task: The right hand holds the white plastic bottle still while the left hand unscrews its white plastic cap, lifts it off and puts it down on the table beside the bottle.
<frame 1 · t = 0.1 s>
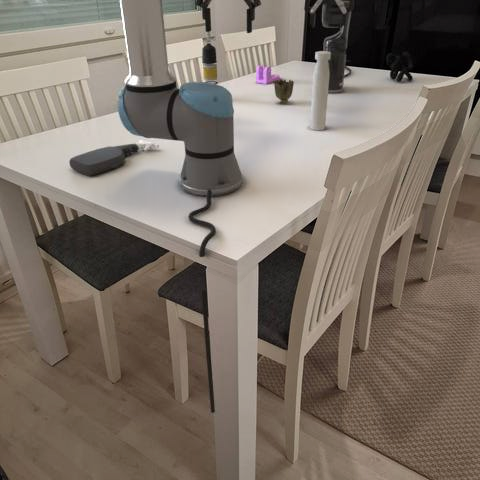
left hand: (228, 32, 139), 28 cm above the table, tool pointing down, fingers open, 13 cm apart
right hand: (327, 27, 135), 29 cm above the table, tool pointing down, fingers open, 8 cm apart
yellow black flask: (211, 98, 179), on the table
squiggle: (399, 80, 200), on the table
bracket: (269, 80, 204), on the table
cap: (323, 53, 134), point 23 cm above the table, screwed on, not yet turned
cup: (283, 103, 171), on the table
spray bottle: (117, 159, 125), on the table
bottle: (317, 127, 146), on the table
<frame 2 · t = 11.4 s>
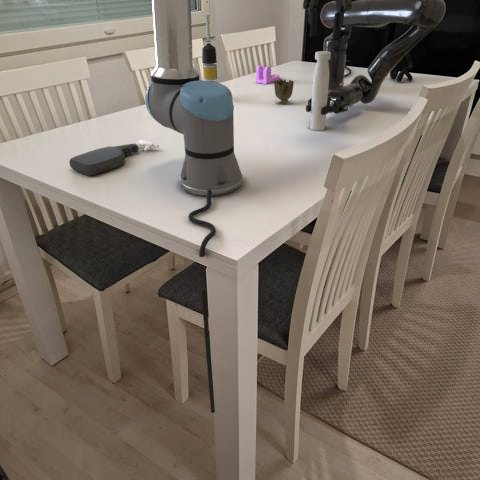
left hand: (324, 36, 131), 27 cm above the table, tool pointing down, fingers open, 7 cm apart
right hand: (314, 110, 140), 6 cm above the table, tool horizontal, fingers closed on bottle, 5 cm apart
bottle: (317, 127, 146), on the table, touching right hand
everything else where it was.
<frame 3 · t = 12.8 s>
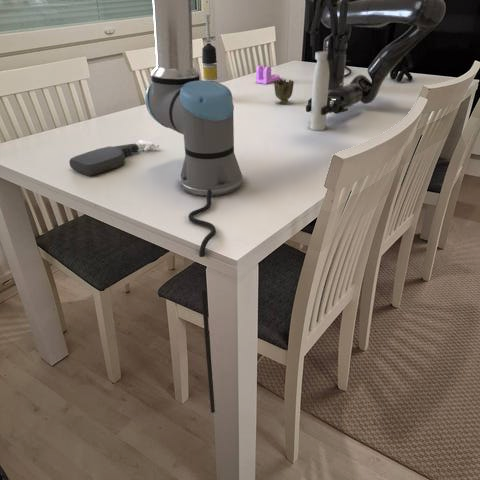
left hand: (322, 58, 134), 21 cm above the table, tool pointing down, fingers closed on cap, 4 cm apart
right hand: (314, 110, 140), 6 cm above the table, tool horizontal, fingers closed on bottle, 5 cm apart
cap: (323, 53, 134), point 23 cm above the table, screwed on, not yet turned, touching left hand
bottle: (317, 127, 146), on the table, touching right hand
everything else where it was.
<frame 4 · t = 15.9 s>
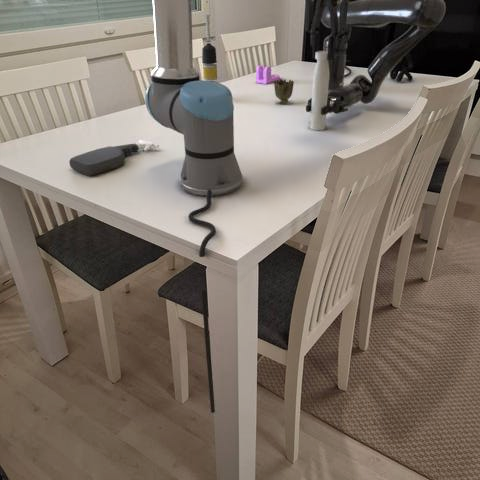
left hand: (322, 58, 134), 21 cm above the table, tool pointing down, fingers closed on cap, 4 cm apart
right hand: (314, 110, 140), 6 cm above the table, tool horizontal, fingers closed on bottle, 5 cm apart
cap: (323, 53, 133), point 23 cm above the table, turned 81° so far, risen 0.1 cm, still on its thread, touching left hand
bottle: (317, 127, 146), on the table, touching right hand
everything else where it was.
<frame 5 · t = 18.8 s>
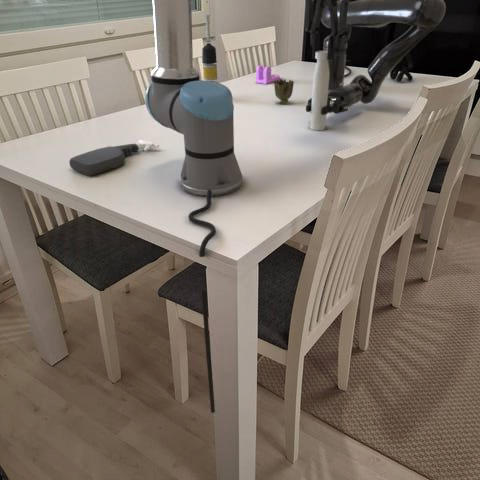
left hand: (322, 58, 134), 21 cm above the table, tool pointing down, fingers closed on cap, 4 cm apart
right hand: (314, 110, 140), 6 cm above the table, tool horizontal, fingers closed on bottle, 5 cm apart
cap: (323, 53, 133), point 23 cm above the table, turned 161° so far, risen 0.1 cm, still on its thread, touching left hand
bottle: (317, 127, 146), on the table, touching right hand
everything else where it was.
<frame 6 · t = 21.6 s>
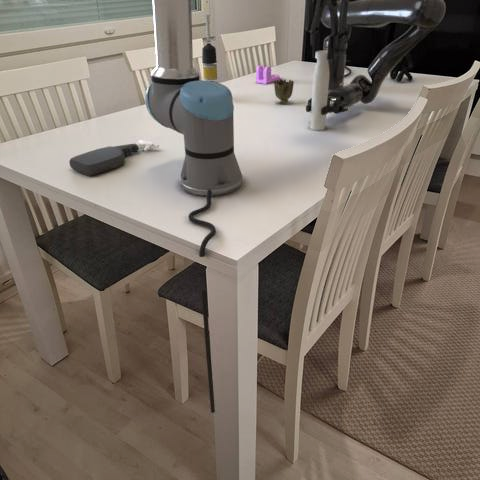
left hand: (322, 58, 134), 21 cm above the table, tool pointing down, fingers closed on cap, 4 cm apart
right hand: (314, 110, 140), 6 cm above the table, tool horizontal, fingers closed on bottle, 5 cm apart
cap: (323, 52, 133), point 23 cm above the table, turned 242° so far, risen 0.2 cm, still on its thread, touching left hand
bottle: (317, 127, 146), on the table, touching right hand
everything else where it was.
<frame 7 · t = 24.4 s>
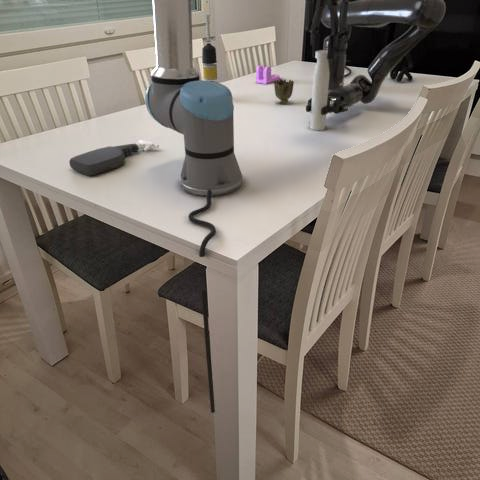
left hand: (322, 57, 134), 22 cm above the table, tool pointing down, fingers closed on cap, 4 cm apart
right hand: (314, 110, 140), 6 cm above the table, tool horizontal, fingers closed on bottle, 5 cm apart
cap: (323, 52, 133), point 23 cm above the table, turned 322° so far, risen 0.3 cm, still on its thread, touching left hand
bottle: (317, 127, 146), on the table, touching right hand
everything else where it was.
when the left hand's fingers open (1 cm above the table, at t = 34.8 s): cap stays where it is, point 1 cm above the table.
when the right hand's fingers open (6 cm above the table, at t = 36.0 s): bottle stays where it is, on the table.
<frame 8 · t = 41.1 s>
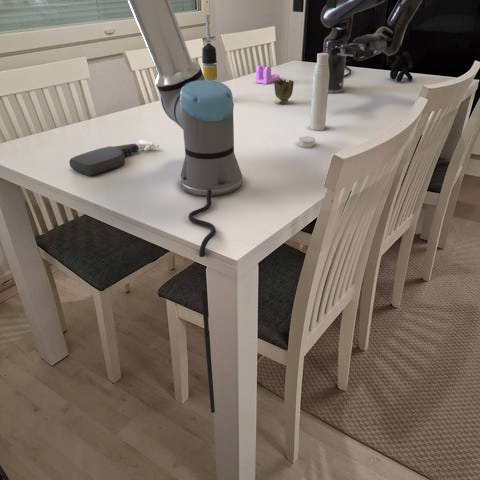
left hand: (315, 9, 114), 36 cm above the table, tool pointing down, fingers open, 13 cm apart
right hand: (342, 54, 142), 21 cm above the table, tool horizontal, fingers open, 8 cm apart
cap: (306, 139, 132), point 1 cm above the table, off its thread
bottle: (317, 127, 146), on the table
everything else where it was.
at the end: cap came off its thread; cap point 1.5 cm above the table; the left hand is holding nothing; the right hand is holding nothing; bottle tilted 0°; bottle moved 0.0 cm from its start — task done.
